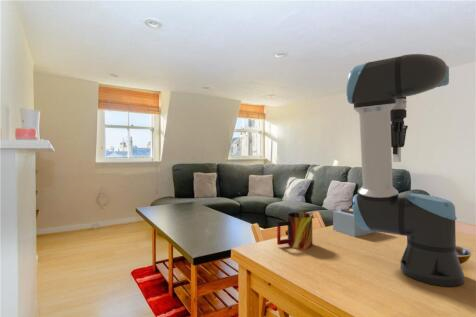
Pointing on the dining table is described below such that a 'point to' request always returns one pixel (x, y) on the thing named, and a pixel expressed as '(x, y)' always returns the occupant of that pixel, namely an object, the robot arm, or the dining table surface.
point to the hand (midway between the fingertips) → (396, 161)
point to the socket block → (347, 223)
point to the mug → (297, 230)
